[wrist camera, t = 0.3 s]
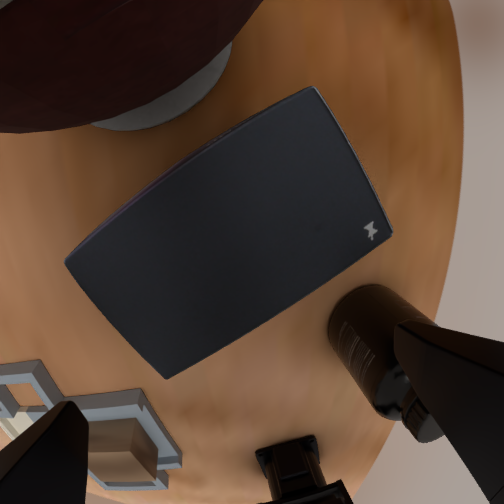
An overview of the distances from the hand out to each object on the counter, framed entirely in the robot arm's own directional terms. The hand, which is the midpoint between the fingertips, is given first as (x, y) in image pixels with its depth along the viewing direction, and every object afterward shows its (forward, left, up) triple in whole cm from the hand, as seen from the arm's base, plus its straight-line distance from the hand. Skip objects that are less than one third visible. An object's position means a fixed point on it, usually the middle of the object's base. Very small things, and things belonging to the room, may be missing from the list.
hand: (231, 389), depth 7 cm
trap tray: (-16, +19, -14) cm, 28 cm away
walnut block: (-16, +14, -13) cm, 25 cm away
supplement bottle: (-10, -10, -14) cm, 20 cm away
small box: (+2, -1, -14) cm, 14 cm away
